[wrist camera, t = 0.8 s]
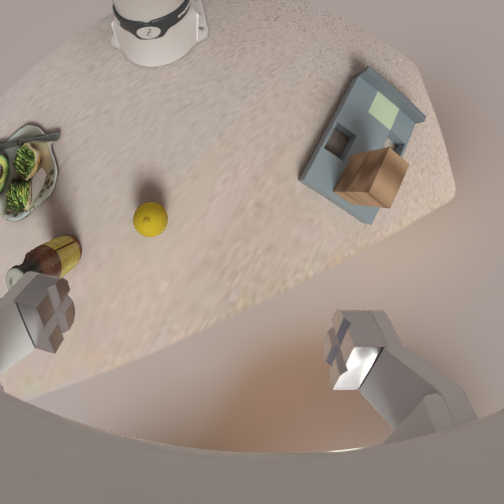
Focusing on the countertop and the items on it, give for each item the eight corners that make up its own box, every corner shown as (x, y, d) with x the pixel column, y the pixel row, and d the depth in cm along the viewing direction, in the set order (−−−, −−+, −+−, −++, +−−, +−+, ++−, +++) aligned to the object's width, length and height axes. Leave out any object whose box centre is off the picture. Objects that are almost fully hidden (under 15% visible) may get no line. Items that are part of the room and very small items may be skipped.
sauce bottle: (49, 249, 46) (-10, 276, 27) (69, 226, 46) (10, 245, 27) (70, 275, 48) (18, 314, 29) (90, 253, 48) (40, 285, 29)
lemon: (134, 226, 49) (123, 232, 41) (145, 196, 48) (136, 197, 40) (162, 238, 50) (156, 246, 42) (174, 208, 49) (170, 210, 42)
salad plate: (52, 102, 41) (41, 96, 37) (80, 180, 45) (70, 178, 41) (-14, 156, 39) (-26, 155, 35) (10, 230, 44) (-2, 234, 39)
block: (351, 204, 52) (389, 208, 40) (332, 191, 51) (368, 192, 39) (369, 168, 51) (409, 164, 40) (351, 154, 50) (389, 147, 38)
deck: (363, 223, 56) (379, 226, 50) (298, 180, 52) (310, 179, 46) (408, 120, 54) (426, 116, 48) (354, 75, 50) (368, 66, 44)
